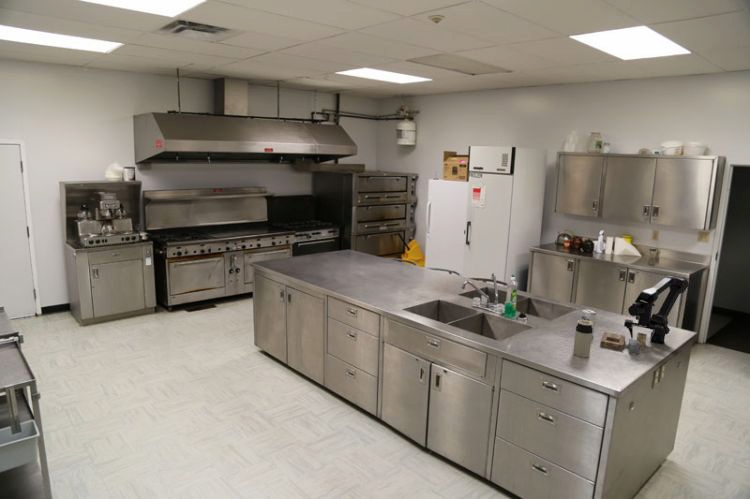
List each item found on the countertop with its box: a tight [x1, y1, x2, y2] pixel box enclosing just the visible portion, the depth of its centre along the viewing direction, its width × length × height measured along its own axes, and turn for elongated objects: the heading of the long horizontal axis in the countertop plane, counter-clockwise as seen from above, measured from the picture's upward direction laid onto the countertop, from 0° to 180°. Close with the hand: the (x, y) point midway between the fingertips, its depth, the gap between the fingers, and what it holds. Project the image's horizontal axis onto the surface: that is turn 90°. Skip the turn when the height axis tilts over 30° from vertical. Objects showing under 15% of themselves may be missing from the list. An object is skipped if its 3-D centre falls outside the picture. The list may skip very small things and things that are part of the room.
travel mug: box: [572, 319, 593, 359], centre depth 254 cm, size 8×8×18 cm
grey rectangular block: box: [627, 338, 640, 356], centre depth 263 cm, size 4×9×5 cm, turn 154°
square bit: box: [636, 332, 648, 348], centre depth 272 cm, size 4×4×6 cm
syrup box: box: [580, 309, 597, 337], centre depth 283 cm, size 6×6×14 cm
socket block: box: [599, 331, 626, 352], centre depth 273 cm, size 11×17×3 cm, turn 149°
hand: (641, 340), depth 272 cm, fingers open, 9 cm apart
